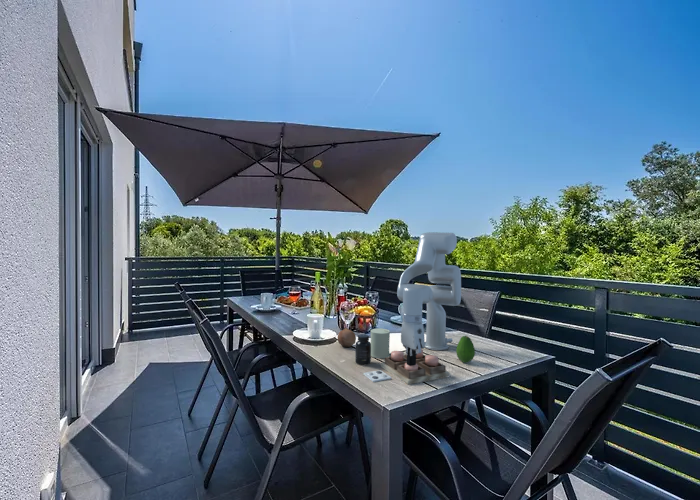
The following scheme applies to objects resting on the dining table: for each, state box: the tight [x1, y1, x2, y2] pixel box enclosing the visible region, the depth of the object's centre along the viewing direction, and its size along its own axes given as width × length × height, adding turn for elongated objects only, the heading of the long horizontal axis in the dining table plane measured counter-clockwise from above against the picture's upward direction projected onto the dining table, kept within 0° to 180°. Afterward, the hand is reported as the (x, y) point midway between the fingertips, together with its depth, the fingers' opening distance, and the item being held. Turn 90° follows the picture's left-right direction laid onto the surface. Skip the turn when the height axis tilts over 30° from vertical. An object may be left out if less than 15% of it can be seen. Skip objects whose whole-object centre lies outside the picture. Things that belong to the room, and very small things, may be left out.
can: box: [370, 327, 391, 359], centre depth 160 cm, size 9×9×12 cm
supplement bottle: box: [354, 333, 372, 366], centre depth 149 cm, size 7×7×12 cm
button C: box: [390, 350, 405, 361], centre depth 143 cm, size 5×5×3 cm
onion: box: [337, 327, 357, 348], centre depth 172 cm, size 10×9×10 cm
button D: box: [405, 363, 418, 371], centre depth 134 cm, size 5×5×3 cm
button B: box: [425, 354, 439, 366], centre depth 138 cm, size 5×5×3 cm
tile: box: [363, 369, 392, 383], centre depth 134 cm, size 8×8×1 cm
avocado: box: [455, 335, 476, 364], centre depth 152 cm, size 8×8×12 cm
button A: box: [416, 349, 424, 358], centre depth 147 cm, size 5×5×3 cm
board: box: [380, 353, 450, 385], centre depth 140 cm, size 20×20×4 cm
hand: (411, 364), depth 134 cm, fingers closed
